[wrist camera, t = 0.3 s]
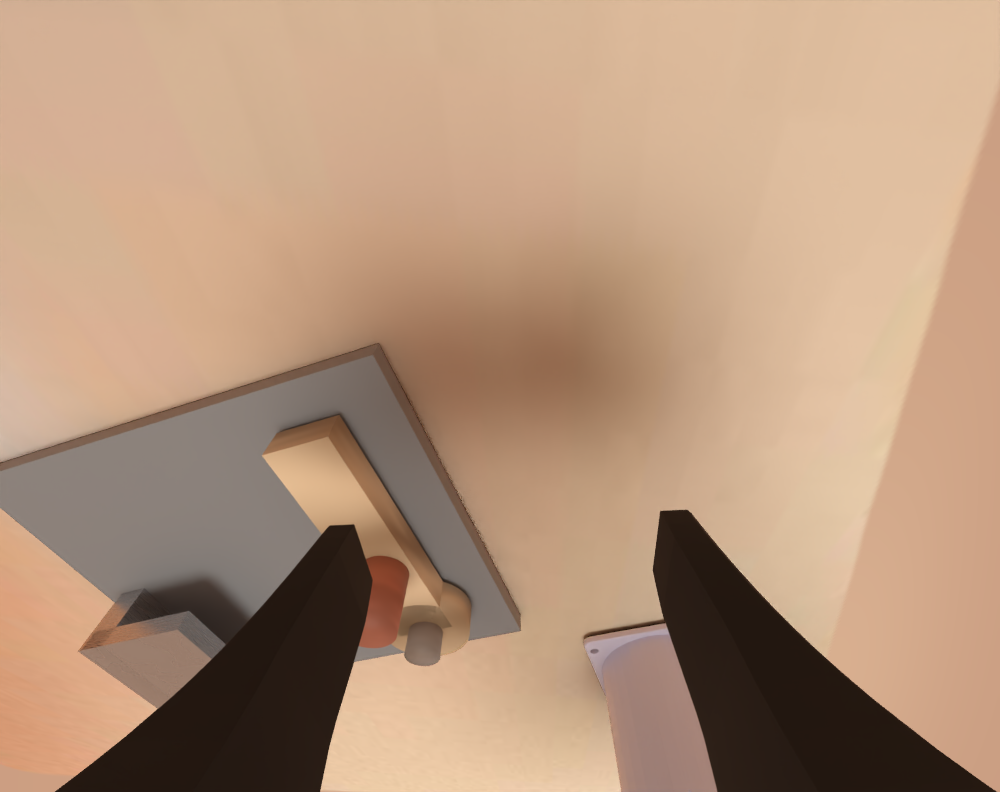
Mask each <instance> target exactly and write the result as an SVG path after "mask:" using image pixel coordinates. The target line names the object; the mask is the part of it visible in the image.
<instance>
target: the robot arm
mask: <svg viewBox="0 0 1000 792" xmlns="http://www.w3.org/2000/svg"><path fill="white" fill-rule="evenodd" d="M653 573H654V578H655V582H656V587H657V592H658V596H659V601H660V605H661V609H662V614H663V617H664V620H665V623H663V624H658V625H652V626H646V627H641V628H635V629H630V630H624V631H618V632H613V633H607V634H602V635H596V636H590V637H587V638H586V639H585V640H584V648H585V650H586V652H587V655H588V657H589V659H590V662H591V664H592V666H593V668H594V671H595V673H596V675H597V678H598V680H599V682H600V685H601V687H602V689H603V692H604V694H605V696H606V698H607V704H608V711H609V717H610V723H611V729H612V736H613V742H614V748H615V754H616V761H617V767H618V773H619V780H620V786H621V792H996V791H995V790H993V789H992V788H990V787H989V786H987V785H986V784H985V783H983V782H982V781H980V780H979V779H978V778H976V777H975V776H973V775H972V774H971V773H969V772H968V771H967V770H965V769H964V768H962V767H961V766H960V765H958V764H957V763H955V762H954V761H953V760H951V759H950V758H949V757H947V756H946V755H944V754H943V753H942V752H940V751H939V750H937V749H936V748H935V747H934V746H932V745H931V744H930V743H929V742H927V741H926V740H925V739H923V738H922V737H921V736H920V735H918V734H917V733H916V732H914V731H913V730H912V729H911V728H909V727H908V726H907V725H905V724H904V723H903V722H902V721H900V720H899V719H898V718H897V717H895V716H894V715H893V714H891V713H890V712H889V711H887V710H886V709H885V708H884V707H882V706H881V705H880V704H879V703H877V702H876V701H875V700H874V699H872V698H871V697H870V696H869V695H868V694H866V693H865V692H864V691H863V690H862V689H861V688H859V687H858V686H857V685H856V684H855V683H854V682H852V681H851V680H850V679H849V678H848V677H847V676H845V675H844V674H843V673H842V672H841V671H840V670H838V669H837V668H836V667H835V666H834V665H833V664H832V663H831V662H830V661H828V660H827V659H826V658H825V657H824V656H823V655H822V654H821V653H820V652H818V651H817V650H816V649H815V648H814V647H813V646H812V645H811V644H810V643H809V642H808V641H807V640H806V639H805V638H804V637H802V636H801V635H800V634H799V633H798V632H797V631H796V630H795V629H794V628H793V627H792V626H791V625H790V624H789V623H788V622H787V621H786V620H785V619H784V618H783V617H782V616H781V615H780V614H779V613H778V612H777V611H776V610H775V609H774V608H773V607H772V606H771V605H770V604H769V602H768V601H767V600H766V599H765V598H764V597H763V596H762V595H761V594H760V593H759V592H758V591H757V590H756V589H755V588H754V586H753V585H752V584H751V583H750V582H749V581H748V580H747V579H746V578H745V577H744V575H743V574H742V573H741V572H740V571H739V570H738V569H737V568H736V567H735V565H734V564H733V563H732V562H731V561H730V560H729V559H728V557H727V556H726V555H725V554H724V553H723V551H722V550H721V549H720V548H719V547H718V546H717V544H716V543H715V542H714V541H713V540H712V538H711V537H710V536H709V535H708V533H707V532H706V531H705V530H704V528H703V527H702V526H701V525H700V523H699V522H698V521H697V520H696V518H695V517H694V516H693V515H692V513H690V512H689V511H688V510H672V511H660V518H659V526H658V534H657V541H656V549H655V557H654V565H653ZM372 582H373V579H372V576H371V573H370V570H369V567H368V564H367V561H366V558H365V555H364V552H363V549H362V546H361V543H360V540H359V537H358V534H357V531H356V528H355V525H354V524H350V525H329V527H328V528H327V529H326V530H325V531H324V532H323V533H322V535H321V536H320V537H319V538H318V539H317V541H316V542H315V543H314V544H313V546H312V547H311V548H310V549H309V550H308V552H307V553H306V554H305V555H304V557H303V558H302V559H301V560H300V562H299V563H298V564H297V565H296V566H295V568H294V569H293V570H292V571H291V572H290V574H289V575H288V576H287V577H286V578H285V580H284V581H283V582H282V583H281V584H280V585H279V587H278V588H277V589H276V590H275V591H274V592H273V594H272V595H271V596H270V597H269V598H268V599H267V601H266V602H265V603H264V604H263V605H262V606H261V607H260V609H259V610H258V611H257V612H256V613H255V614H254V615H253V616H252V617H251V618H250V619H249V621H248V622H247V623H246V624H245V625H244V626H243V627H242V628H241V629H240V630H239V631H238V632H237V633H236V635H235V636H234V637H233V638H232V639H231V640H230V641H229V642H228V643H227V644H226V645H225V646H224V647H223V648H222V649H221V650H220V651H219V652H218V653H217V654H216V655H215V656H214V657H213V658H212V659H211V660H210V661H209V662H208V663H207V664H206V665H205V666H204V667H203V668H202V669H201V670H200V671H199V672H198V673H197V674H196V675H195V676H194V677H193V678H192V679H191V680H190V681H189V682H187V683H186V684H185V685H184V686H183V687H182V688H181V689H180V690H179V691H178V692H177V693H175V694H174V695H173V696H172V697H171V698H170V699H169V700H168V701H166V702H165V703H164V704H163V705H162V706H161V707H160V708H158V709H157V710H156V711H155V712H154V713H153V714H151V715H150V716H149V717H148V718H147V719H146V720H144V721H143V722H142V723H141V724H140V725H139V726H137V727H136V728H135V729H134V730H133V731H132V732H130V733H129V734H128V735H127V736H126V737H125V738H123V739H122V740H121V741H120V742H118V743H117V744H116V745H115V746H113V747H112V748H111V749H110V750H108V751H107V752H106V753H105V754H103V755H102V756H101V757H100V758H98V759H97V760H96V761H95V762H93V763H92V764H91V765H89V766H88V767H87V768H85V769H84V770H83V771H82V772H80V773H79V774H78V775H76V776H75V777H74V778H72V779H71V780H70V781H68V782H67V783H66V784H65V785H63V786H62V787H61V788H59V789H58V790H57V791H55V792H320V789H321V784H322V779H323V774H324V770H325V765H326V760H327V755H328V750H329V746H330V742H331V738H332V734H333V731H334V727H335V723H336V720H337V716H338V713H339V710H340V706H341V703H342V700H343V696H344V693H345V690H346V687H347V683H348V680H349V677H350V673H351V670H352V667H353V663H354V660H355V657H356V653H357V650H358V647H359V643H360V640H361V636H362V633H363V630H364V626H365V622H366V617H367V612H368V606H369V601H370V595H371V588H372Z"/></svg>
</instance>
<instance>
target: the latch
mask: <svg viewBox="0 0 1000 792" xmlns="http://www.w3.org/2000/svg"><path fill="white" fill-rule="evenodd" d="M262 457H263V458H264V459H265V460H266V462H267V463H268V464H269V466H270V467H271V468H272V470H273V471H274V472H275V474H276V475H277V476H278V478H279V479H280V480H281V481H282V483H283V484H284V485H285V487H286V488H287V489H288V491H289V492H290V493H291V495H292V496H293V497H294V498H295V500H296V501H297V502H298V504H299V505H300V506H301V508H302V509H303V510H304V512H305V513H306V514H307V516H308V517H309V518H310V519H311V521H312V522H313V523H314V525H315V526H316V527H317V529H318V530H319V531H320V533H321V534H322V533H323V532H324V531H325V530H326V529H327V528H328V527H329V525H350V524H354V525H355V528H356V531H357V534H358V537H359V540H360V543H361V546H362V549H363V552H364V555H365V558H366V561H367V564H368V567H369V570H370V573H371V576H372V579H373V582H372V588H371V595H370V601H369V606H368V612H367V617H366V622H365V626H364V630H363V633H362V636H361V640H360V643H359V646H360V647H365V648H382V647H385V646H388V645H390V644H392V645H393V646H394V647H396V648H398V649H399V650H402V651H404V652H405V654H404V656H405V658H406V660H407V661H409V662H410V663H412V664H415V665H419V666H430V665H433V664H435V663H437V662H438V661H439V660H440V656H442V655H447V654H450V653H453V652H455V651H457V650H459V649H460V648H462V647H463V646H464V645H465V644H466V643H467V641H468V639H469V635H470V622H471V602H470V600H469V598H468V597H467V595H466V594H465V593H464V592H463V591H461V590H460V589H459V588H457V587H455V586H453V585H451V584H448V583H446V582H443V581H442V579H441V578H440V576H439V575H438V573H437V571H436V570H435V568H434V567H433V565H432V563H431V562H430V560H429V558H428V557H427V555H426V554H425V552H424V550H423V549H422V547H421V546H420V544H419V542H418V541H417V539H416V538H415V536H414V534H413V533H412V531H411V530H410V528H409V526H408V525H407V523H406V521H405V520H404V518H403V517H402V515H401V513H400V512H399V510H398V509H397V507H396V505H395V504H394V502H393V501H392V499H391V497H390V496H389V494H388V493H387V491H386V489H385V488H384V486H383V484H382V483H381V481H380V480H379V478H378V476H377V475H376V473H375V472H374V470H373V468H372V467H371V465H370V464H369V462H368V460H367V459H366V457H365V455H364V454H363V452H362V451H361V449H360V447H359V446H358V444H357V443H356V441H355V439H354V438H353V436H352V435H351V433H350V431H349V430H348V428H347V427H346V425H345V423H344V422H343V420H342V418H341V417H340V415H337V416H334V417H330V418H327V419H323V420H320V421H316V422H313V423H310V424H306V425H303V426H299V427H296V428H292V429H289V430H286V431H282V432H279V433H276V435H275V436H274V438H273V439H272V441H271V442H270V444H269V445H268V447H267V448H266V450H265V451H264V453H263V454H262Z"/></svg>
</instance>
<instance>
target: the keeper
mask: <svg viewBox="0 0 1000 792" xmlns="http://www.w3.org/2000/svg"><path fill="white" fill-rule="evenodd" d="M225 645H226V644H225V643H224V642H223V641H222V640H221V639H220V638H218V637H217V636H216V635H215V634H214V633H213V632H212V631H211V630H210V629H209V628H207V627H206V626H205V625H204V624H203V623H202V622H201V621H200V620H199V619H198V618H196V617H195V616H194V615H193V614H192V613H191V612H190V611H186V612H181V613H177V614H173V613H172V612H171V611H170V610H168V609H167V608H166V607H165V606H164V605H163V604H162V603H160V602H159V601H158V600H157V599H156V598H155V597H154V596H153V595H151V594H150V593H149V592H148V591H147V590H146V589H145V588H142V589H138V590H134V591H130V592H125V593H122V594H121V595H120V597H119V598H118V599H117V601H116V602H115V603H114V605H113V606H112V607H111V609H110V610H109V611H108V613H107V614H106V615H105V616H104V618H103V619H102V620H101V622H100V623H99V624H98V626H97V627H96V628H95V630H94V631H93V632H92V634H91V635H90V636H89V637H88V639H87V640H86V641H85V643H84V644H83V645H82V647H81V648H80V649H79V651H78V652H80V653H81V654H83V655H84V656H85V657H87V658H88V659H90V660H91V661H92V662H94V663H95V664H97V665H98V666H99V667H101V668H102V669H103V670H105V671H106V672H108V673H109V674H110V675H112V676H113V677H115V678H116V679H117V680H119V681H120V682H122V683H123V684H124V685H126V686H127V687H128V688H130V689H131V690H133V691H134V692H135V693H137V694H138V695H140V696H141V697H142V698H144V699H145V700H147V701H148V702H149V703H151V704H152V705H153V706H155V707H156V708H160V707H161V706H162V705H163V704H164V703H165V702H166V701H168V700H169V699H170V698H171V697H172V696H173V695H174V694H175V693H177V692H178V691H179V690H180V689H181V688H182V687H183V686H184V685H185V684H186V683H187V682H189V681H190V680H191V679H192V678H193V677H194V676H195V675H196V674H197V673H198V672H199V671H200V670H201V669H202V668H203V667H204V666H205V665H206V664H207V663H208V662H209V661H210V660H211V659H212V658H213V657H214V656H215V655H216V654H217V653H218V652H219V651H220V650H221V649H222V648H223V647H224V646H225Z"/></svg>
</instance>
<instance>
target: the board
mask: <svg viewBox="0 0 1000 792" xmlns="http://www.w3.org/2000/svg"><path fill="white" fill-rule="evenodd" d="M337 415H340V417H341V418H342V420H343V422H344V423H345V425H346V427H347V428H348V430H349V431H350V433H351V435H352V436H353V438H354V439H355V441H356V443H357V444H358V446H359V447H360V449H361V451H362V452H363V454H364V455H365V457H366V459H367V460H368V462H369V464H370V465H371V467H372V468H373V470H374V472H375V473H376V475H377V476H378V478H379V480H380V481H381V483H382V484H383V486H384V488H385V489H386V491H387V493H388V494H389V496H390V497H391V499H392V501H393V502H394V504H395V505H396V507H397V509H398V510H399V512H400V513H401V515H402V517H403V518H404V520H405V521H406V523H407V525H408V526H409V528H410V530H411V531H412V533H413V534H414V536H415V538H416V539H417V541H418V542H419V544H420V546H421V547H422V549H423V550H424V552H425V554H426V555H427V557H428V558H429V560H430V562H431V563H432V565H433V567H434V568H435V570H436V571H437V573H438V575H439V576H440V578H441V579H442V581H443V582H446V583H448V584H451V585H453V586H455V587H457V588H459V589H460V590H461V591H463V592H464V593H465V594H466V595H467V597H468V598H469V600H470V602H471V622H470V635H469V639H468V641H469V640H475V639H480V638H485V637H491V636H496V635H501V634H507V633H512V632H518V631H521V621H520V614H519V612H518V610H517V608H516V606H515V604H514V602H513V600H512V598H511V596H510V594H509V592H508V591H507V589H506V587H505V585H504V583H503V581H502V579H501V577H500V575H499V573H498V571H497V569H496V568H495V566H494V564H493V562H492V560H491V558H490V556H489V554H488V552H487V550H486V548H485V546H484V545H483V543H482V541H481V539H480V537H479V535H478V533H477V531H476V529H475V527H474V525H473V523H472V522H471V520H470V518H469V516H468V514H467V512H466V510H465V508H464V506H463V504H462V502H461V500H460V499H459V497H458V495H457V493H456V491H455V489H454V487H453V485H452V483H451V481H450V479H449V477H448V476H447V474H446V472H445V470H444V468H443V466H442V464H441V462H440V460H439V458H438V456H437V454H436V453H435V451H434V449H433V447H432V445H431V443H430V441H429V439H428V437H427V435H426V433H425V431H424V430H423V428H422V426H421V424H420V422H419V420H418V418H417V416H416V414H415V412H414V410H413V408H412V407H411V405H410V403H409V401H408V399H407V397H406V395H405V393H404V391H403V389H402V387H401V385H400V384H399V382H398V380H397V378H396V376H395V374H394V372H393V370H392V368H391V366H390V364H389V362H388V361H387V359H386V357H385V355H384V353H383V351H382V349H381V347H380V345H379V343H378V344H375V345H372V346H369V347H366V348H362V349H359V350H356V351H353V352H350V353H347V354H343V355H340V356H337V357H334V358H331V359H328V360H325V361H321V362H318V363H315V364H312V365H309V366H306V367H302V368H299V369H296V370H293V371H290V372H287V373H283V374H280V375H277V376H274V377H271V378H268V379H265V380H261V381H258V382H255V383H252V384H249V385H246V386H242V387H239V388H236V389H233V390H230V391H227V392H223V393H220V394H217V395H214V396H211V397H208V398H205V399H201V400H198V401H195V402H192V403H189V404H186V405H182V406H179V407H176V408H173V409H170V410H167V411H163V412H160V413H157V414H154V415H151V416H148V417H145V418H141V419H138V420H135V421H132V422H129V423H126V424H122V425H119V426H116V427H113V428H110V429H107V430H103V431H100V432H97V433H94V434H91V435H88V436H85V437H81V438H78V439H75V440H72V441H69V442H66V443H62V444H59V445H56V446H53V447H50V448H47V449H43V450H40V451H37V452H34V453H31V454H28V455H25V456H21V457H18V458H15V459H12V460H9V461H6V462H2V463H0V508H1V509H2V510H4V511H5V512H6V513H7V514H8V515H10V516H11V517H12V518H13V519H14V520H16V521H17V522H18V523H19V524H20V525H22V526H23V527H24V528H25V529H26V530H28V531H29V532H30V533H31V534H33V535H34V536H35V537H36V538H37V539H39V540H40V541H41V542H42V543H43V544H45V545H46V546H47V547H48V548H49V549H51V550H52V551H53V552H54V553H56V554H57V555H58V556H59V557H60V558H62V559H63V560H64V561H65V562H66V563H68V564H69V565H70V566H71V567H72V568H74V569H75V570H76V571H77V572H78V573H80V574H81V575H82V576H83V577H85V578H86V579H87V580H88V581H89V582H91V583H92V584H93V585H94V586H95V587H97V588H98V589H99V590H100V591H101V592H103V593H104V594H105V595H106V596H107V597H109V598H110V599H111V600H112V601H114V602H116V601H117V599H118V598H119V597H120V595H121V594H122V593H125V592H130V591H134V590H138V589H142V588H145V589H146V590H147V591H148V592H149V593H150V594H151V595H153V596H154V597H155V598H156V599H157V600H158V601H159V602H160V603H162V604H163V605H164V606H165V607H166V608H167V609H168V610H170V611H171V612H172V613H173V614H177V613H181V612H186V611H190V612H191V613H192V614H193V615H194V616H195V617H196V618H198V619H199V620H200V621H201V622H202V623H203V624H204V625H205V626H206V627H207V628H209V629H210V630H211V631H212V632H213V633H214V634H215V635H216V636H217V637H218V638H220V639H221V640H222V641H223V642H224V643H225V644H227V643H228V642H229V641H230V640H231V639H232V638H233V637H234V636H235V635H236V633H237V632H238V631H239V630H240V629H241V628H242V627H243V626H244V625H245V624H246V623H247V622H248V621H249V619H250V618H251V617H252V616H253V615H254V614H255V613H256V612H257V611H258V610H259V609H260V607H261V606H262V605H263V604H264V603H265V602H266V601H267V599H268V598H269V597H270V596H271V595H272V594H273V592H274V591H275V590H276V589H277V588H278V587H279V585H280V584H281V583H282V582H283V581H284V580H285V578H286V577H287V576H288V575H289V574H290V572H291V571H292V570H293V569H294V568H295V566H296V565H297V564H298V563H299V562H300V560H301V559H302V558H303V557H304V555H305V554H306V553H307V552H308V550H309V549H310V548H311V547H312V546H313V544H314V543H315V542H316V541H317V539H318V538H319V537H320V536H321V535H322V534H321V533H320V531H319V530H318V529H317V527H316V526H315V525H314V523H313V522H312V521H311V519H310V518H309V517H308V516H307V514H306V513H305V512H304V510H303V509H302V508H301V506H300V505H299V504H298V502H297V501H296V500H295V498H294V497H293V496H292V495H291V493H290V492H289V491H288V489H287V488H286V487H285V485H284V484H283V483H282V481H281V480H280V479H279V478H278V476H277V475H276V474H275V472H274V471H273V470H272V468H271V467H270V466H269V464H268V463H267V462H266V460H265V459H264V458H263V457H262V454H263V453H264V451H265V450H266V448H267V447H268V445H269V444H270V442H271V441H272V439H273V438H274V436H275V435H276V433H279V432H282V431H286V430H289V429H292V428H296V427H299V426H303V425H306V424H310V423H313V422H316V421H320V420H323V419H327V418H330V417H334V416H337ZM399 653H405V652H404V651H402V650H399V649H398V648H396V647H394V646H393V645H392V644H390V645H388V646H385V647H382V648H365V647H360V646H359V647H358V650H357V653H356V657H355V660H354V662H356V661H362V660H367V659H372V658H378V657H383V656H388V655H394V654H399Z"/></svg>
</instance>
